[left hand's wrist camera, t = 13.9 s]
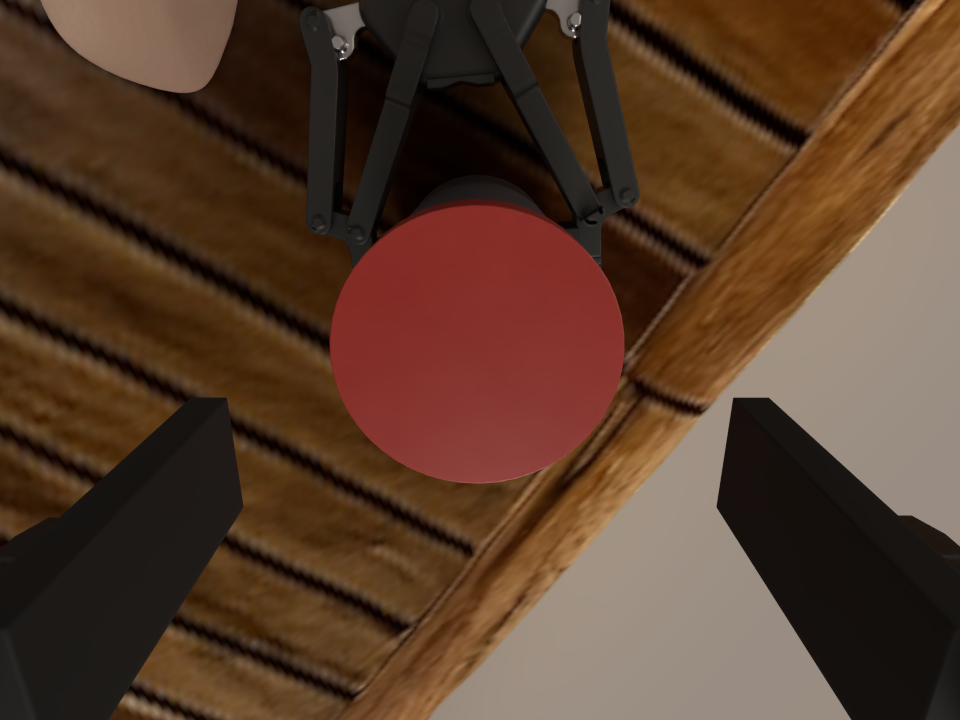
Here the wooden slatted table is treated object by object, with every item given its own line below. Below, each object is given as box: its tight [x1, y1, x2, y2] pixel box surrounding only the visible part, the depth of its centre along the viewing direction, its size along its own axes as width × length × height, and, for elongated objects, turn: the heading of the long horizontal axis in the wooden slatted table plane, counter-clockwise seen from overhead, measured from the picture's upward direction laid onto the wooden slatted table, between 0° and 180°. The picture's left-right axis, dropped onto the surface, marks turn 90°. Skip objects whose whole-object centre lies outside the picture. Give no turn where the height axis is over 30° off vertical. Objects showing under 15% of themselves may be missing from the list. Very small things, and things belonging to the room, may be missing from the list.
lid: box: [330, 199, 624, 483], centre depth 20 cm, size 9×9×2 cm
